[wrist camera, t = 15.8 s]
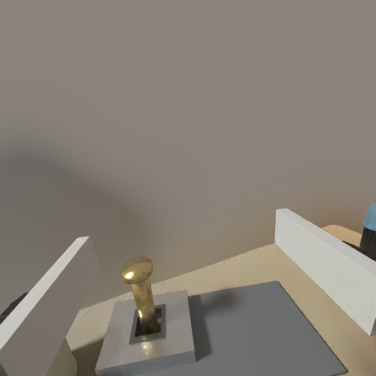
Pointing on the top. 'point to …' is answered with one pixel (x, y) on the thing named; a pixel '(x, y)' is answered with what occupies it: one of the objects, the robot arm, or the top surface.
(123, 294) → the top surface
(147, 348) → the grey flat rectangular block
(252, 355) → the mat
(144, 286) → the pin
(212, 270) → the top surface
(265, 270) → the top surface
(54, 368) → the can
